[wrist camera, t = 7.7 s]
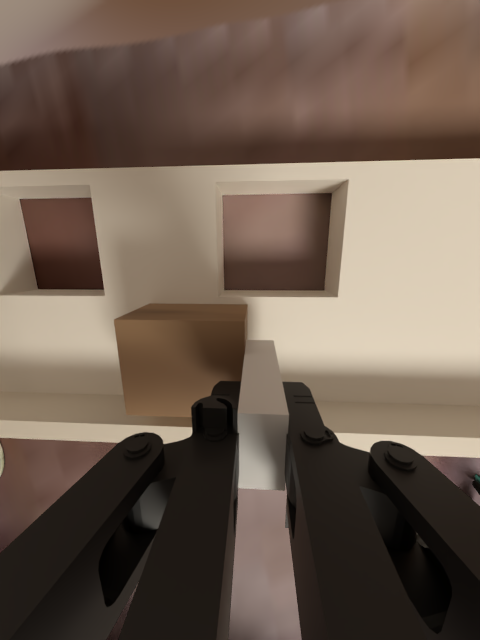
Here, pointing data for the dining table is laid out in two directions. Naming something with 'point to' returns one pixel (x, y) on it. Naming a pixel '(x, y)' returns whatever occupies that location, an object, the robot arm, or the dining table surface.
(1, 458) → the coffee can
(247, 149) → the dining table surface
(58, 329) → the box
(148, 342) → the block
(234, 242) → the dining table surface
